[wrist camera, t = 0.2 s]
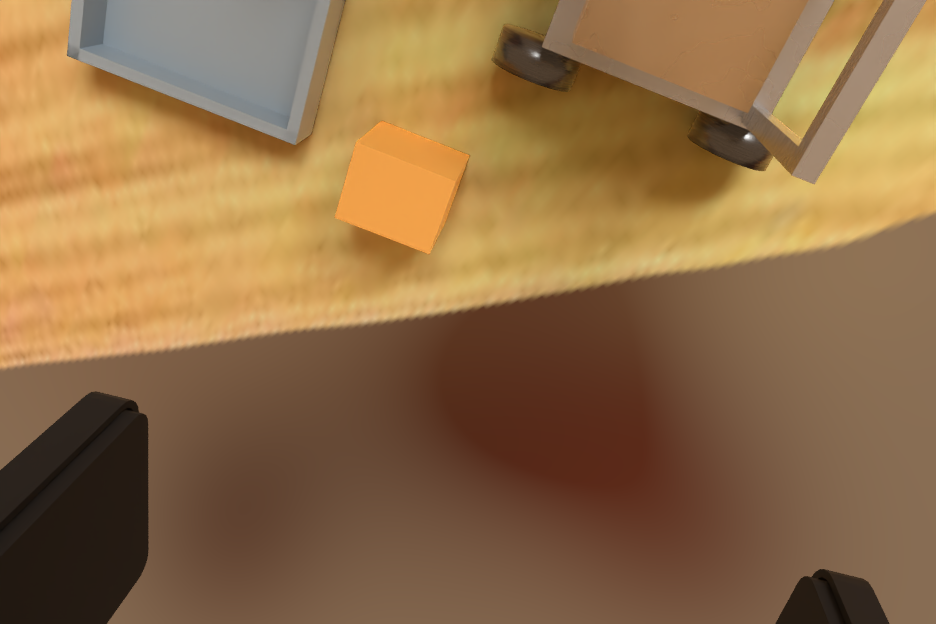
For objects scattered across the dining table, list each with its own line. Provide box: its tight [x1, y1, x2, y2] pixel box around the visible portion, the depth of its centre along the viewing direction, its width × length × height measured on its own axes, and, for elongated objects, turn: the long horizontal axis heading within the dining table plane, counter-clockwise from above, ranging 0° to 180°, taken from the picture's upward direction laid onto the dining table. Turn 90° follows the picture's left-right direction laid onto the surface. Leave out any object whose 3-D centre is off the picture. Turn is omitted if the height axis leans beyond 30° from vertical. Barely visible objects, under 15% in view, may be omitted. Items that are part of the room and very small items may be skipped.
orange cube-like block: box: [335, 121, 470, 254], centre depth 37 cm, size 4×5×5 cm
